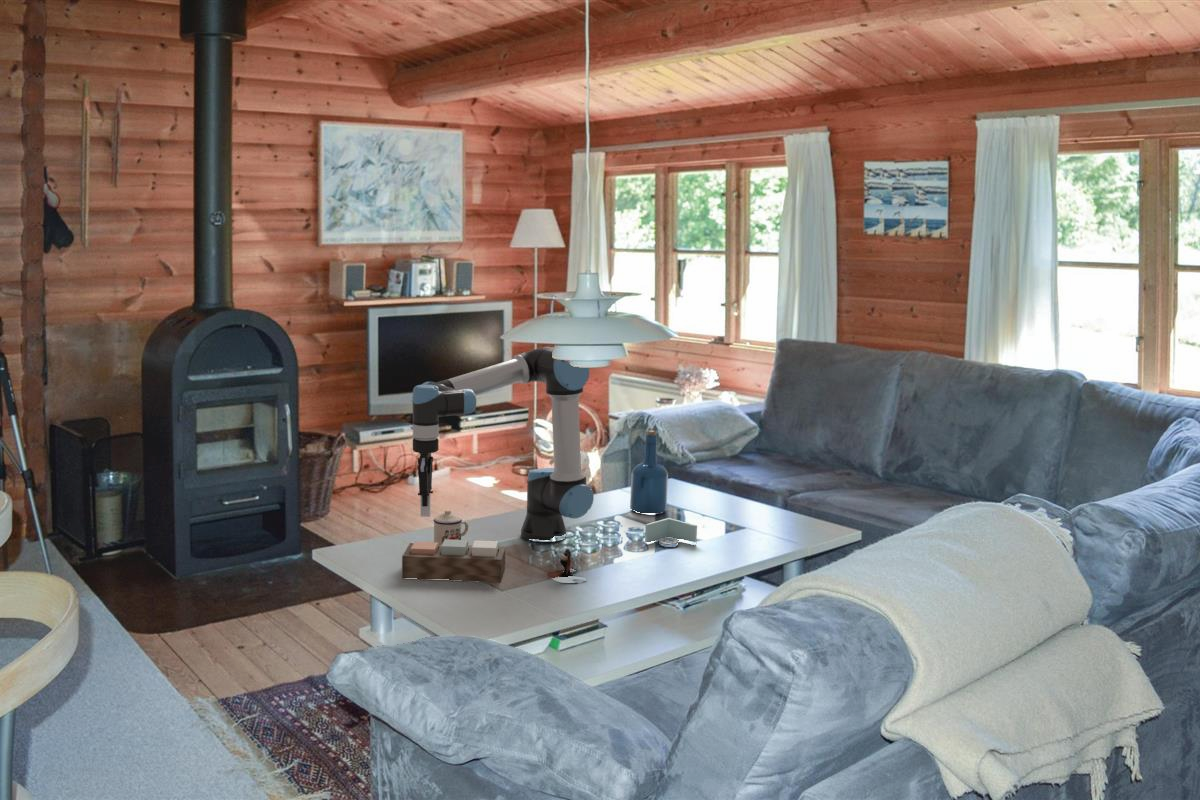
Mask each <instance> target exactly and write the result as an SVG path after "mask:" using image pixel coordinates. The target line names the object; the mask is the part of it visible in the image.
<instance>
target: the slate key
mask: <svg viewBox="0 0 1200 800" xmlns="http://www.w3.org/2000/svg"><path fill="white" fill-rule="evenodd" d="M468 545H469V540H468V539H461V540H450V539H445V540H444V542H443V544H442V546H441V555H461V556H466V555H467V553H468Z"/></svg>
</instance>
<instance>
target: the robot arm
mask: <svg viewBox="0 0 1200 800" xmlns="http://www.w3.org/2000/svg"><path fill="white" fill-rule="evenodd" d="M554 348H555V347H552V346H543V347H537V348H535V349H531V350H528V351H524V352H521V353H518V354H515V355H514V356H512V359H510V360H506V361H503V362H500V363H495V364H493V365H490V366H487V367H484V368H481V369H478V370H473V371H471V372H467V373H465V374H464V373H463V374H461V375H457V376H454V377H451V378H449V379H445V380H444V379H443V380H440V381H437V382H435V381H426V382H423V383H422V384H418V385H415V386H414V387H413V389H412V399H411V403H412V426H410V430H412V437H413V438H412V451H413V452H414V453H419V457H417V472H418V489H419V491H418V493H417V495H418V496H420V517H427V518H428V517H431V494H434V491H433V490H432V489H433V488H432V486H433V485H432V483H433V481H432V480H433V462H434V456H432V454H434V453H437V452H439V448H440V447H439V444H440V443H439V438H438V437H439V435H440V424H439V420H440V419H439V417H440V418H442V417H449V416H461V415H462V416H465V415H469V414H472V413H473V412H475V410H476V407H477V396H479V395H482V394H485V393H489V392H492V391H495V390H499V389H502V388H505V387H509V386H511V385H514V384H517V383H519V384H523V385H525V384H528V383H533V382H538V383H544V384H545V388H546V389H545V390H546V391H545V392H546V395H548V396H549V398H550V399H551V421H552V423H551V424H552V440H553V442H552V445H553V467H546V468H544V467H542V468H536V469H535V468H534V469H531V470H530V471H529V472H528V474H527V481H526V485H527V486H526V488H527V492H526V493H527V495H526V515H525V518H524V519H523V523H522V527H521V530H520V537H521V536H522V537H523V538H522V537H521V538H522V539H523V540H525V541H528V540H529V539H539V540H550V539H551V538H553V537H554V536H562V535H564V534H566V535H567V528H566V525H565V522H564V518H570V519H579V518H582V517H583V516H586V514H587V513H588V511H589V510H591V508H592V506H593V504H594V492H593V490H592V488H591V487H590V486H589V485H587V474H586V473H585V471H584V470H583V469H582V463H581V461H582V457H581V432H580V429H581V428H580V409H579V408H580V406H579V405H580V403H579V402H580V401H579V398H580V396H581V395H582V394H583V392H584V386H586V384H587V382H588V381H589V378H590V367H589V368H579V367H573V366H571V365H570V364H569V363H568V362H567V361H564V360H556V359H553V358H552V352H553V350H554ZM563 517H564V518H563Z"/></svg>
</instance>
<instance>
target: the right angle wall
mask: <svg viewBox="0 0 1200 800" xmlns="http://www.w3.org/2000/svg"><path fill="white" fill-rule="evenodd" d="M644 532H645V533H644V536H645V537H644V543H645V542H651V541H655V540H658V539H661V538H663V539H661V540H659V543H660V544H665V545H670V544H677V543H679V544H680V542H678V541H679V540H677V539H684V540H689V541H694V542H695V541H696V542H697V540H698V538H697V536H698V525H696V524H693V523H690V522H685V521H684V520H683V521H682V520H678V519H675V518H671V517H668V518H667V517H666V518H663V519H661V520H655V521H653V522H650V523H646V524H645V531H644ZM665 537H673V538H677V539H672V538H665ZM665 540H669V541H674V542H673V543H668V542H663V541H665Z"/></svg>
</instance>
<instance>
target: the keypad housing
mask: <svg viewBox="0 0 1200 800" xmlns="http://www.w3.org/2000/svg"><path fill="white" fill-rule="evenodd" d="M413 544H414V542H409V544H408V546H407V548H406V549H405V551H404V553H403V554H402V556H401V558H402V559H401V579H402V578H417V579H449V580H462V581H461V582H468V581H479V582H478V583H499V584H501V583H502V580H503V577H504V574H505V570H506V546H503V545H502V546H501V545H498V555H497V557H488V556H472V546H473V544H468V553H467V555H466V556H461V555H441V546H442V544H438V551H437V553H436V555H434V554H411V547H412V546H413Z"/></svg>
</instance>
